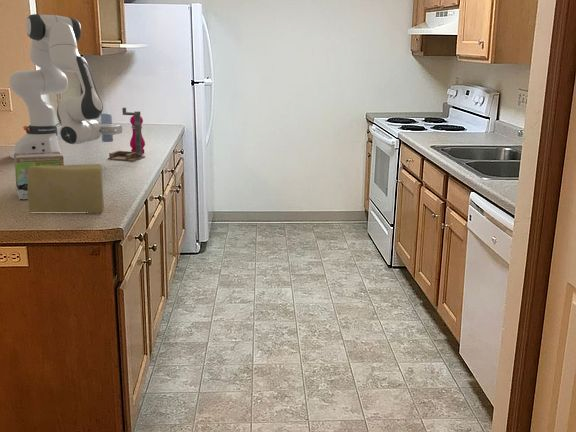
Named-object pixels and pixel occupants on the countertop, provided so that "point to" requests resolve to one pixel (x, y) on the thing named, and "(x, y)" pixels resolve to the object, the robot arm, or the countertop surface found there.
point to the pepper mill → (133, 142)
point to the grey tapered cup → (106, 119)
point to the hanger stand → (138, 154)
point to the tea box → (32, 159)
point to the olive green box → (65, 188)
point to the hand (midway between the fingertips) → (107, 126)
